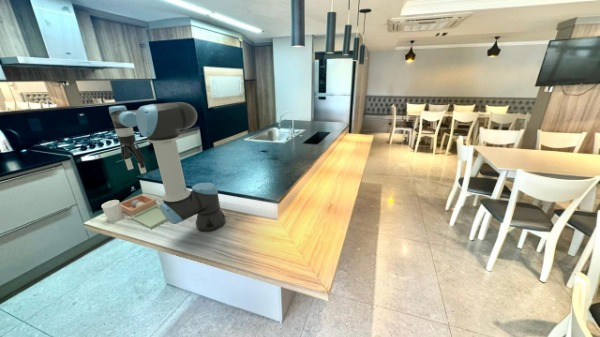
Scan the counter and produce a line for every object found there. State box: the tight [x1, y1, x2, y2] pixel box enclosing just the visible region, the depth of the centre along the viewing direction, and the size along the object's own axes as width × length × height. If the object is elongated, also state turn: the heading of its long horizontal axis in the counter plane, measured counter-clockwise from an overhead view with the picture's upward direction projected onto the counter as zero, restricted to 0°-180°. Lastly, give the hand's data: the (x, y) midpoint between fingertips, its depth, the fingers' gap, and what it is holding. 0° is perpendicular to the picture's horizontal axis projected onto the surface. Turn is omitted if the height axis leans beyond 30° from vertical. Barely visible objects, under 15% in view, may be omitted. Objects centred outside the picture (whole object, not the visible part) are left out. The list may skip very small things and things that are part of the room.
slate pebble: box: [131, 200, 140, 208], centre depth 140 cm, size 5×5×5 cm
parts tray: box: [130, 204, 169, 230], centre depth 131 cm, size 20×15×2 cm
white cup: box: [101, 199, 124, 222], centre depth 129 cm, size 8×8×10 cm
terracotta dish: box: [120, 193, 158, 217], centre depth 139 cm, size 15×14×5 cm
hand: (137, 171), depth 133 cm, fingers open, 13 cm apart
